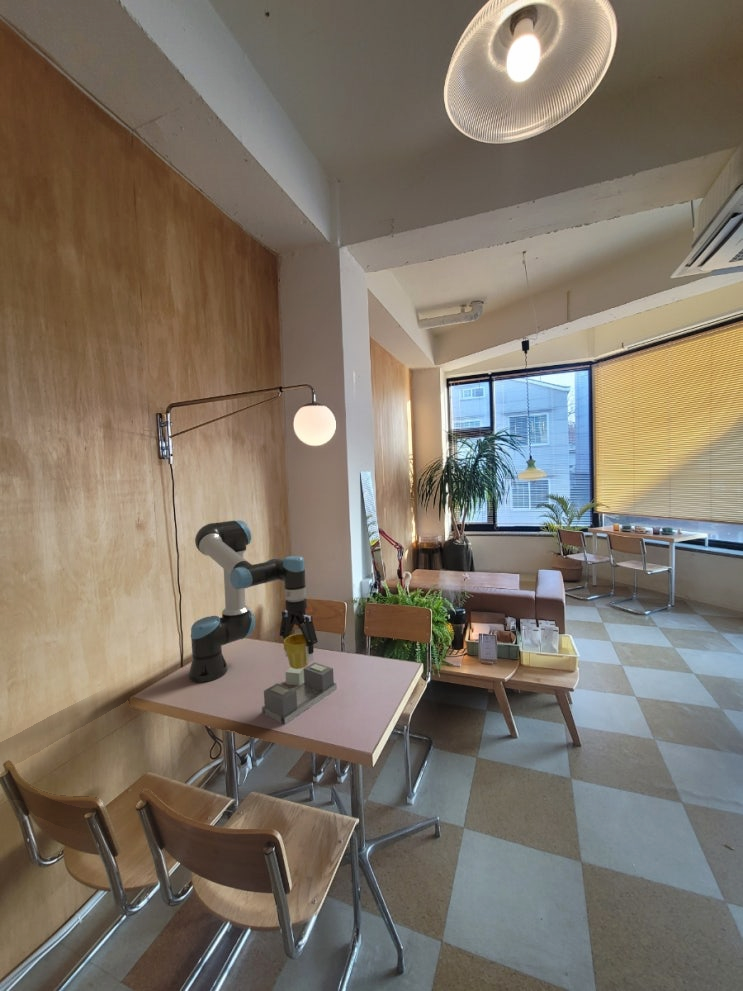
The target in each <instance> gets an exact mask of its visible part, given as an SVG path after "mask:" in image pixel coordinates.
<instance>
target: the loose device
mask: <svg viewBox="0 0 743 991" xmlns="http://www.w3.org/2000/svg"><path fill="white" fill-rule="evenodd" d="M303 682H304V668H300V669H294V668H291V667H290V666H289V667H288V669H287V670H286V671H285V684H286V685H290V686H291V685H293V686H298V685H300V684H302V683H303Z"/></svg>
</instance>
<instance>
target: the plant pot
mask: <svg viewBox="0 0 743 991" xmlns="http://www.w3.org/2000/svg"><path fill="white" fill-rule="evenodd" d="M309 641H310V640H309ZM305 645H307V643H306V641H305V639H304V636H303V634H302V632H301V633H294V634H291V635H290V636H288V637H286V638H285V639H284V638H283V650H284V652H285V651H286V653H287V656H288V657H287V659H288V663H289V668H290V667H291V668H294V669H300V668H302V669H304V668H305V667H307V666H309V663H308V664H307V663H306V649H305Z"/></svg>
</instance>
